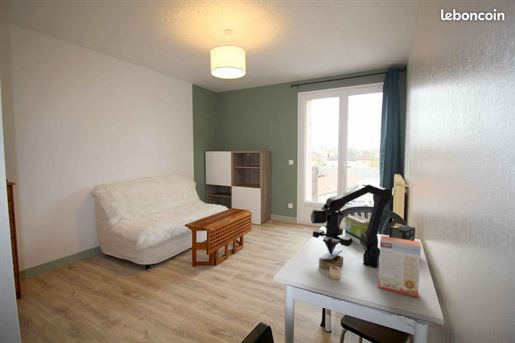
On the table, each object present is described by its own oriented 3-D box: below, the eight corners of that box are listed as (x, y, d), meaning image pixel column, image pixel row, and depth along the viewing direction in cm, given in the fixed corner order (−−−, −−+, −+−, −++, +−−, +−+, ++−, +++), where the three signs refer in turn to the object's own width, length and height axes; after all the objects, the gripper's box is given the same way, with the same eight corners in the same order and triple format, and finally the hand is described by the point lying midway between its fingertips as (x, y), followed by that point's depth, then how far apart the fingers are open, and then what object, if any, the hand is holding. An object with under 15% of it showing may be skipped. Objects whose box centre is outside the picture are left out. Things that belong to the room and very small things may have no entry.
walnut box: (342, 263, 121) (343, 256, 121) (332, 271, 112) (332, 264, 112) (330, 258, 126) (330, 252, 125) (319, 266, 117) (319, 259, 117)
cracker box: (416, 290, 97) (420, 241, 96) (418, 298, 92) (421, 246, 90) (378, 281, 104) (381, 234, 103) (377, 287, 99) (380, 239, 98)
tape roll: (342, 277, 107) (342, 268, 107) (337, 281, 104) (337, 272, 103) (332, 273, 111) (332, 264, 110) (327, 277, 107) (327, 268, 107)
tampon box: (397, 246, 143) (398, 223, 142) (414, 252, 136) (415, 227, 134) (387, 250, 137) (389, 226, 136) (404, 256, 130) (406, 230, 129)
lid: (342, 251, 121) (342, 250, 121) (331, 258, 112) (331, 257, 112) (330, 252, 125) (329, 251, 125) (319, 259, 117) (318, 258, 117)
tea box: (344, 237, 158) (345, 215, 157) (356, 236, 161) (357, 214, 160) (360, 246, 144) (361, 222, 143) (373, 244, 147) (374, 220, 146)
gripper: (357, 224, 117) (356, 254, 118) (322, 216, 130) (321, 244, 131) (348, 229, 109) (347, 262, 110) (312, 220, 121) (311, 250, 123)
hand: (331, 253), depth 119 cm, fingers closed
